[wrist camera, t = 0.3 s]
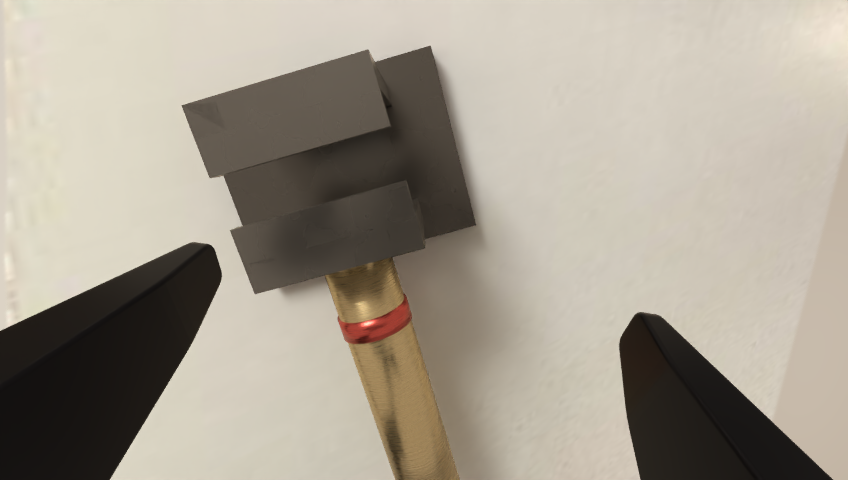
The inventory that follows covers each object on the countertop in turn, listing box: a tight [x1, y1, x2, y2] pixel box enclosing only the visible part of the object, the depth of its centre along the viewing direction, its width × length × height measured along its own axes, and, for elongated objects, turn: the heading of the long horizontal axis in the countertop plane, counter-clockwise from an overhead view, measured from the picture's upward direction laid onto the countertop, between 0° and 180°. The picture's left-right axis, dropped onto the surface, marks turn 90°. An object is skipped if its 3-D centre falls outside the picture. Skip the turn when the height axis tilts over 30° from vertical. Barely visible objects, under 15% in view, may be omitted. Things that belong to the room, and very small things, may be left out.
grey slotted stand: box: [182, 46, 476, 294], centre depth 18 cm, size 9×12×7 cm
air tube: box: [325, 257, 460, 480], centre depth 20 cm, size 18×3×3 cm, turn 16°
